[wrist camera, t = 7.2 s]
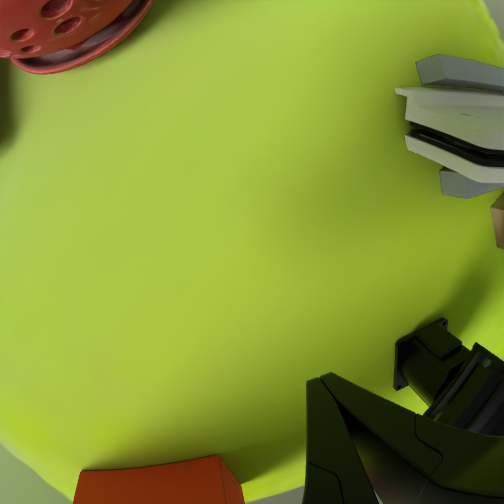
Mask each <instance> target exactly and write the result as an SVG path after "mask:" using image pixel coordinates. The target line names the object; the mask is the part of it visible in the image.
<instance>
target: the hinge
mask: <svg viewBox="0 0 504 504" xmlns="http://www.w3.org/2000/svg"><path fill="white" fill-rule="evenodd" d="M395 91H396V94H400V95H403V96H407V105H406V114H405V119H406V120H409V121H410V125H411V126H414V127H417V128H420V129H422V130H413V131H410V135H405V141H406V145H407V148H408V150H410V151H412V152H414V153H417V154H419V155H421V156H424V157H426V158H428V159H430V160H433V161H435V162H437V163H439V164H441V165H443V166H446V167H448V168H450V169H452V170H454V171H456V172H458V173H460V174H462V175H464V176H466V177H468V178H470V179H472V180H474V181H477V182H481V183H504V95H503V94H500V93H497V92H489V91H480V90H469V89H456V88H435V87H395Z"/></svg>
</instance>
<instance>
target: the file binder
mask: <svg viewBox="0 0 504 504" xmlns="http://www.w3.org/2000/svg"><path fill="white" fill-rule="evenodd" d="M73 504H245V501H244V497H243V492H242V487H241V486H240V483H239V482H238V481H237V479H236V478H235V477H234V475H233V474H232V473H231V471H230V470H229V469H228V467H227V466H226V465H225V463H224V462H223V461H222V459H221V458H220V457H219V455H218V454H217V455H213V456H208V457H203V458H199V459H194V460H188V461H183V462H177V463H171V464H164V465H157V466H149V467H141V468H131V469H118V470H101V471H81V472H80V475H79V479H78V483H77V487H76V492H75V496H74V501H73Z"/></svg>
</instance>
